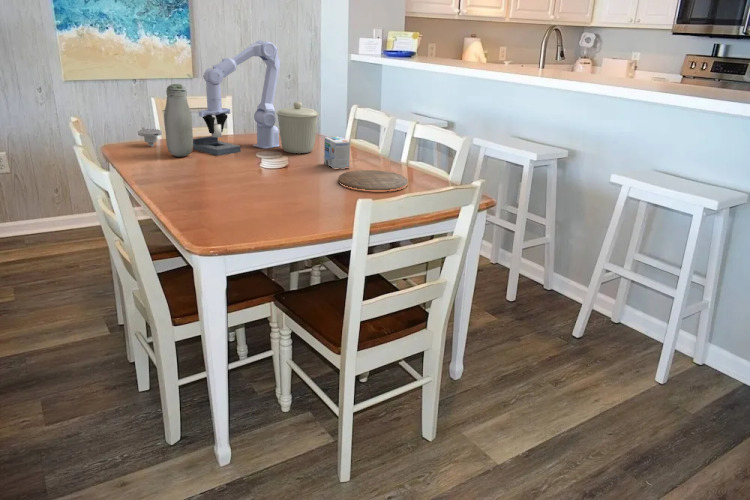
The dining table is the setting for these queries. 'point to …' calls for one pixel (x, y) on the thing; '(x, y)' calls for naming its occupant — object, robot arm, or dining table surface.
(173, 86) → the grey green bottle
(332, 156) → the light bulb box
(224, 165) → the dining table surface
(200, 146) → the jig
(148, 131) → the showerhead
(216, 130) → the white rounded capsule
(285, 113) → the canister
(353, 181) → the trivet
